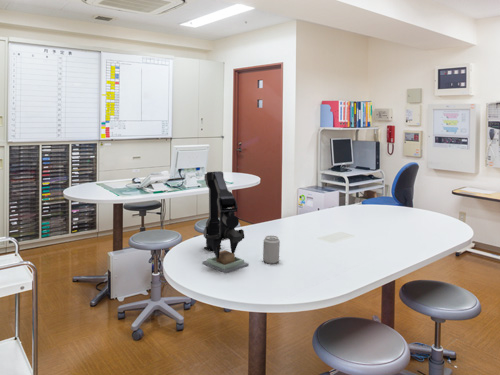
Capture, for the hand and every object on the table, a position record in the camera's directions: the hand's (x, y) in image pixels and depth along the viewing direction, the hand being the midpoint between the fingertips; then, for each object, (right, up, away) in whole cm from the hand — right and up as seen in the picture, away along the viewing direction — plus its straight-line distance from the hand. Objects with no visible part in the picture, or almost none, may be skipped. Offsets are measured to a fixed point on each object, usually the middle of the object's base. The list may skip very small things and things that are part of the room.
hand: (225, 256), depth 189 cm
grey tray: (0, -4, +1) cm, 4 cm away
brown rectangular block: (0, -3, 0) cm, 3 cm away
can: (+21, -4, +6) cm, 22 cm away
